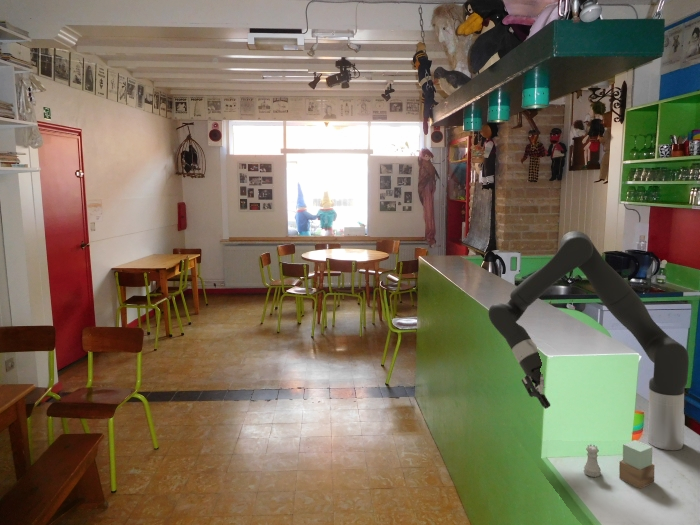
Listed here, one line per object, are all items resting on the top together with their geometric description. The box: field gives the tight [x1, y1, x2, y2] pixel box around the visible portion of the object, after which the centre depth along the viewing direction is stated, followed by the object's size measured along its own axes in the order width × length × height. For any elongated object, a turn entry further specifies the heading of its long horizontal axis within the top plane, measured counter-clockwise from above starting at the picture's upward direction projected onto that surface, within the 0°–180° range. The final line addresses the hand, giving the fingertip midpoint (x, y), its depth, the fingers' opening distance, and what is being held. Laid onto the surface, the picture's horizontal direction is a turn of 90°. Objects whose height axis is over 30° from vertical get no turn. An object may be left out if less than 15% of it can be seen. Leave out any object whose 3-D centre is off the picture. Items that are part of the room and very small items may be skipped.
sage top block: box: [622, 439, 653, 470], centre depth 141 cm, size 5×5×5 cm
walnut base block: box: [618, 459, 656, 489], centre depth 142 cm, size 6×6×5 cm
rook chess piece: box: [583, 444, 602, 478], centre depth 146 cm, size 4×4×8 cm
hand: (558, 404), depth 155 cm, fingers open, 8 cm apart
